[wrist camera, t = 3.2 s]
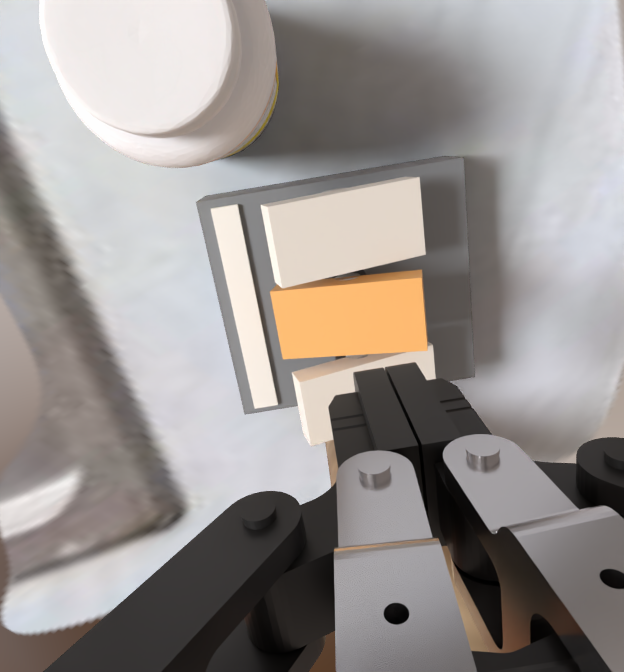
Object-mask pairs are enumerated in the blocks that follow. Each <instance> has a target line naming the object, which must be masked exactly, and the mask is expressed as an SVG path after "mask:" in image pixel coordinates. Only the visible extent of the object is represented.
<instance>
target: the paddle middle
mask: <svg viewBox="0 0 624 672" xmlns="http://www.w3.org/2000/svg"><path fill="white" fill-rule="evenodd" d="M270 295H271V300H272V305H273V310H274V316H275V321H276V326H277V331H278V336H279V342H280V347H281V352H282V357H283V359H297V358H314V357H331V356H348V355H365V354H382V353H399V352H416V351H428V336H427V323H426V311H425V299H424V287H423V275H422V270H412V271H401V272H391V273H381V274H371V275H360V274H357V273H348V274H342V275H339V276H337V277H335V278H329V279H320V280H316V281H312V282H308V283H303V284H299V285H295V286H291V287H287V288H281V287H280V286H279V285H278V284H277V285H276V286H275V287H274V288H273V289H272V290H271V291H270Z"/></svg>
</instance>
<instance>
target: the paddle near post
mask: <svg viewBox="0 0 624 672" xmlns="http://www.w3.org/2000/svg"><path fill="white" fill-rule="evenodd" d="M412 362H416V363H417V365H418V367H419V368H420V370H421V372H422V373H423V375H424V376H425V378H426V380H432V379H436V377H435V364H434V352H433V345H432V344H431V343H429V342H428V351H416V352H399V353H382V354H365V355H348V356H346V357H345V358H341V359H338V360H334V361H331V362H327V363H323V364H320V365H316V366H313V367H309V368H305V369H302V370H298V371H295V372H292V376H293V381H294V387H295V392H296V397H297V403H298V408H299V413H300V419H301V424H302V429H303V434H304V436H305V437H306V439H307V440H308V442H309V444H310V445H311V446H315V445H318V444H321V443H324V442H327V441H330V440H333V434H332V427H331V421H330V415H329V409H328V406H329V405H330V403H331V401H332V400H333V398H334V396H335V395H340V394H346V393H352V392H355V386H354V378H353V372H357V371H363V370H370V369H376V368H382V367H383V368H384V370H385V367H387V366H394V365H400V364H406V363H412Z"/></svg>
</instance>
